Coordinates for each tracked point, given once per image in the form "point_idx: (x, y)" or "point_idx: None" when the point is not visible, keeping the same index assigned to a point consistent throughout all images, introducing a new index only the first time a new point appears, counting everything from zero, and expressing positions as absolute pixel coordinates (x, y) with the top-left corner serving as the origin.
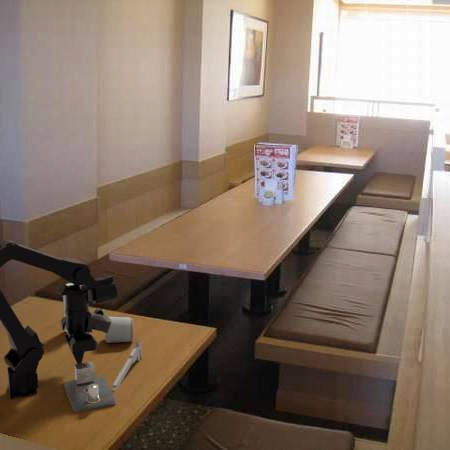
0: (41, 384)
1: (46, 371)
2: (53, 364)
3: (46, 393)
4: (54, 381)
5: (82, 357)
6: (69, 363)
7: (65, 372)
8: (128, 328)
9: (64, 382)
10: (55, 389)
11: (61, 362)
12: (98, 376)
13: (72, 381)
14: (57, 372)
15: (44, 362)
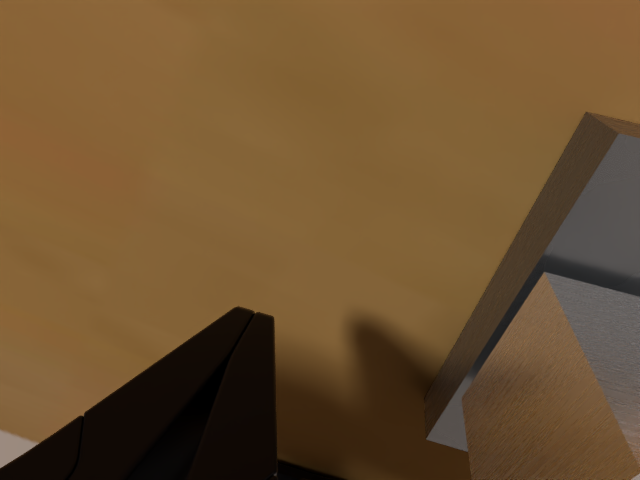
0: (294, 441)
1: (138, 363)
2: (44, 297)
3: (419, 472)
4: (295, 392)
5: (273, 399)
6: (44, 209)
7: (194, 296)
8: None
9: (430, 439)
10: (406, 432)
11: (19, 246)
12: (581, 198)
13: (460, 404)
14: (174, 330)
15: (7, 320)
